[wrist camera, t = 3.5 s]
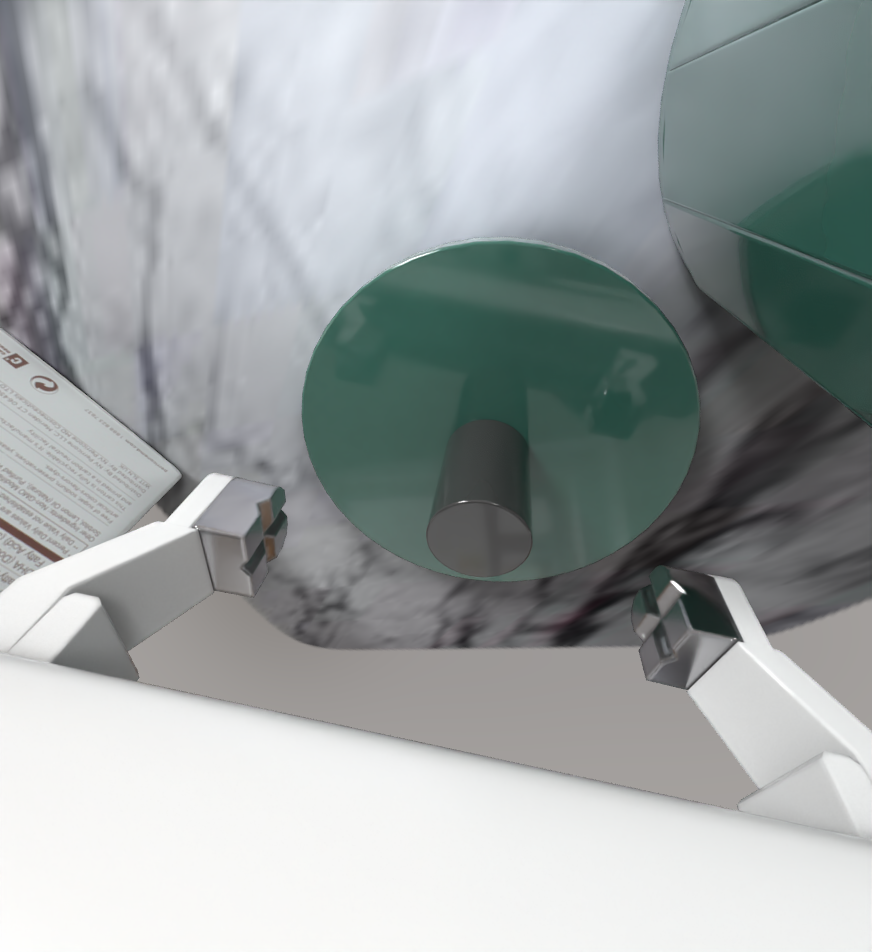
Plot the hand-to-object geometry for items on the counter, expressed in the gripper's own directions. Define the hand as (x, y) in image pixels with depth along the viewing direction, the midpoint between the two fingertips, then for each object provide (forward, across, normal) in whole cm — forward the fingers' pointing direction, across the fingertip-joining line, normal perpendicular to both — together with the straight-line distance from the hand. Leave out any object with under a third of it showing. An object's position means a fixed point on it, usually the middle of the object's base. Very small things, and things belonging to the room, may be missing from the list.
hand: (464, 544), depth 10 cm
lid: (+4, 0, 0) cm, 4 cm away
